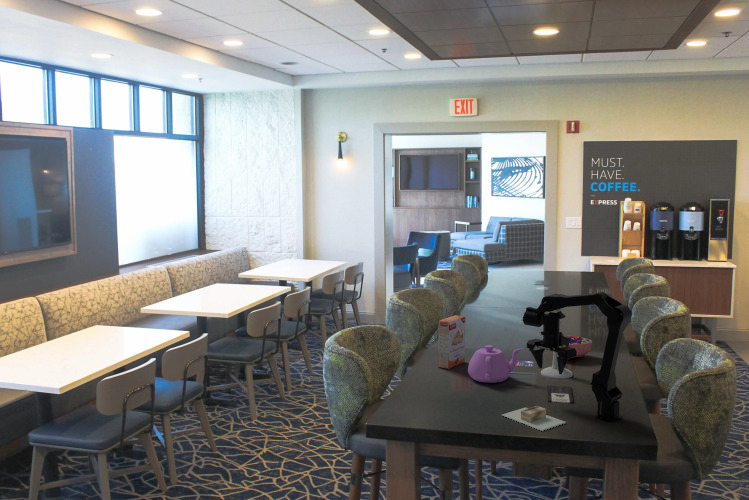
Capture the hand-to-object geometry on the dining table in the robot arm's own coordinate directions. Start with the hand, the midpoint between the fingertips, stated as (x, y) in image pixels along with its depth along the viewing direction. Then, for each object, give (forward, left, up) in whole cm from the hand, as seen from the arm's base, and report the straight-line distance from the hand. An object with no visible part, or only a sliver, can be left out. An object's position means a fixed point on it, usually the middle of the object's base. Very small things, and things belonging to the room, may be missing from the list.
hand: (550, 371), depth 250 cm
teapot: (+33, -5, -12) cm, 36 cm away
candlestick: (+22, -30, -12) cm, 39 cm away
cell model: (+35, -54, -12) cm, 66 cm away
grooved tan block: (-8, +17, -12) cm, 22 cm away
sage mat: (-8, +17, -12) cm, 22 cm away
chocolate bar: (+4, -10, -13) cm, 17 cm away
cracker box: (+59, -5, -12) cm, 61 cm away
